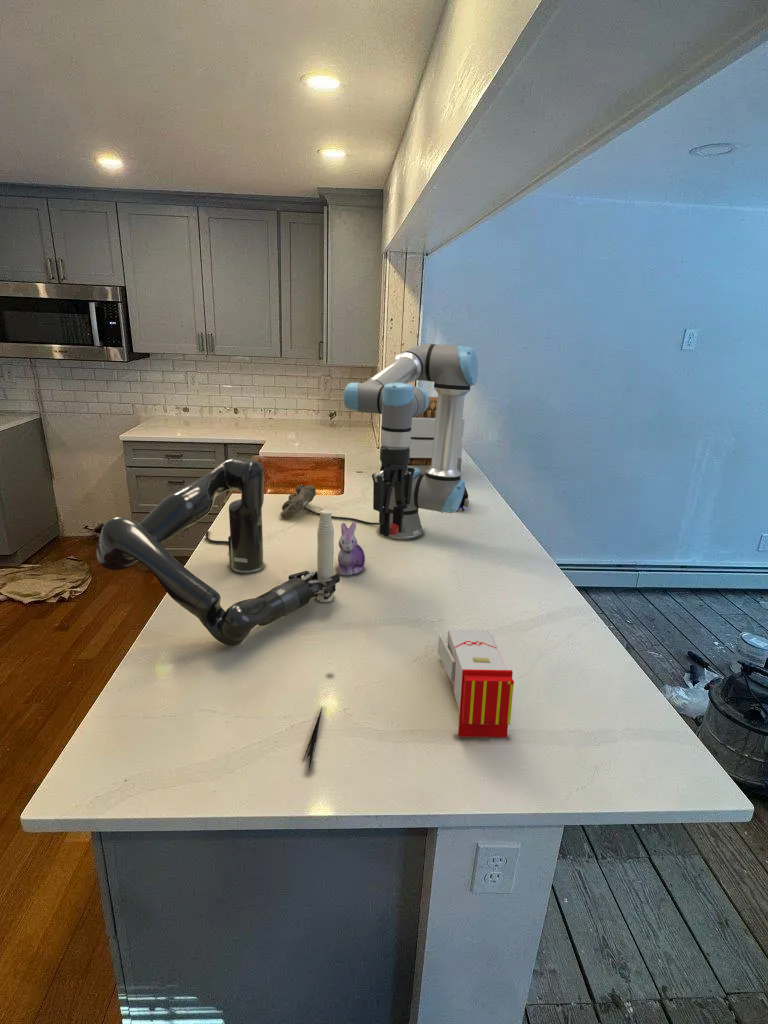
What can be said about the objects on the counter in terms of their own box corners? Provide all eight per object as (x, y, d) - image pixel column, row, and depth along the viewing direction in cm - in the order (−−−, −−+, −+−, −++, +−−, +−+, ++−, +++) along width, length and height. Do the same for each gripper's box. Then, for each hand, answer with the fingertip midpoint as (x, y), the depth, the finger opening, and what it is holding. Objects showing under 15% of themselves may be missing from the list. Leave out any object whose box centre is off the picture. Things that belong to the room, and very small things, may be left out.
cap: (397, 529, 152) (398, 523, 152) (399, 535, 149) (399, 528, 148) (382, 529, 152) (382, 522, 151) (383, 535, 148) (384, 528, 148)
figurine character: (468, 516, 224) (463, 500, 237) (471, 498, 221) (465, 483, 234) (452, 515, 224) (447, 499, 237) (453, 498, 220) (449, 482, 234)
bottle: (335, 600, 153) (336, 513, 144) (320, 603, 151) (321, 515, 142) (329, 593, 156) (330, 507, 148) (314, 596, 154) (315, 509, 146)
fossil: (285, 490, 226) (313, 470, 221) (301, 508, 229) (329, 489, 224) (270, 515, 206) (301, 493, 201) (287, 534, 209) (318, 513, 204)
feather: (331, 679, 122) (336, 673, 122) (307, 777, 96) (313, 769, 95) (324, 675, 122) (329, 669, 121) (298, 772, 95) (304, 764, 95)
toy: (488, 613, 130) (523, 677, 101) (484, 667, 133) (517, 744, 104) (435, 612, 130) (455, 676, 101) (432, 666, 133) (451, 743, 103)
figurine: (343, 579, 165) (344, 531, 159) (329, 565, 173) (330, 519, 168) (372, 573, 169) (374, 526, 164) (357, 560, 177) (359, 515, 172)
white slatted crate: (382, 463, 289) (386, 382, 275) (445, 464, 293) (451, 384, 279) (390, 482, 257) (394, 392, 243) (460, 483, 261) (468, 394, 247)
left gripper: (267, 602, 145) (312, 579, 159) (308, 620, 138) (352, 594, 151) (266, 575, 143) (312, 554, 156) (308, 593, 135) (353, 569, 149)
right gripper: (407, 439, 151) (402, 522, 159) (360, 447, 139) (357, 536, 147) (428, 445, 146) (422, 529, 154) (381, 453, 134) (377, 544, 142)
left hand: (331, 574), depth 154 cm, fingers closed on bottle, 4 cm apart
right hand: (390, 532), depth 150 cm, fingers closed on cap, 4 cm apart
